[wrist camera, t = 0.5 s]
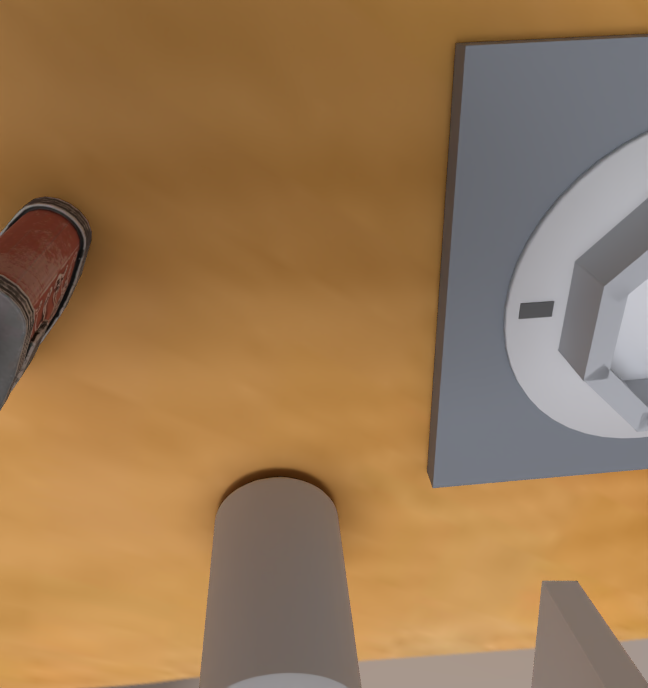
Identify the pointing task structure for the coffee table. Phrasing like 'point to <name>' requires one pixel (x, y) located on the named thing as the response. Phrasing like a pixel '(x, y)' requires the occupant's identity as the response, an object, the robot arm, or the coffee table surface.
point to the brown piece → (36, 279)
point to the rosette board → (544, 263)
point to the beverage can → (278, 592)
